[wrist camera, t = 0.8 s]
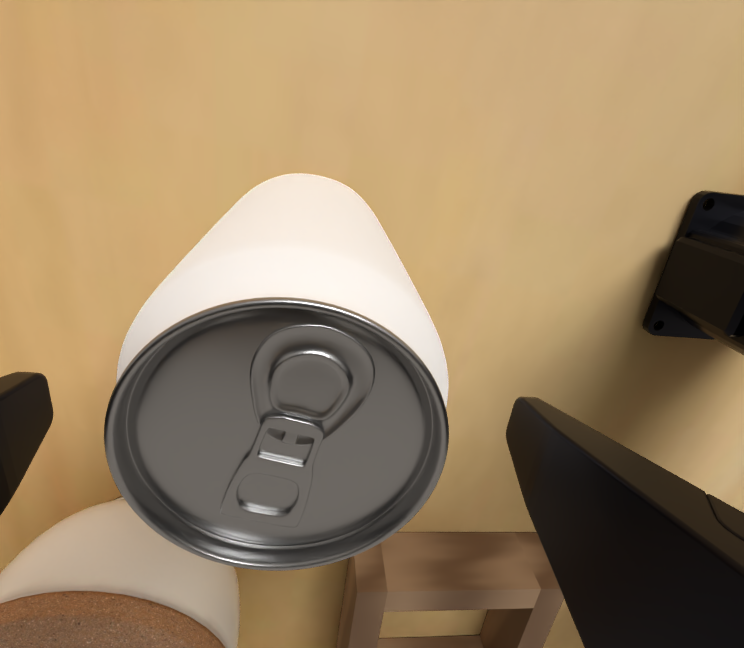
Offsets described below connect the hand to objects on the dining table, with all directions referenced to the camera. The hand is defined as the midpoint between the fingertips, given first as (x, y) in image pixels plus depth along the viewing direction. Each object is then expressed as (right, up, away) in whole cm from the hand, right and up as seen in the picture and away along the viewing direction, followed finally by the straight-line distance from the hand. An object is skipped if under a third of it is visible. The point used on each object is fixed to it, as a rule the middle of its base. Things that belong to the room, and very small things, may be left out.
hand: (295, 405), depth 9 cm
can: (-1, +4, +10) cm, 11 cm away
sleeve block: (+5, -15, +19) cm, 25 cm away
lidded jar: (-10, -9, +15) cm, 20 cm away
